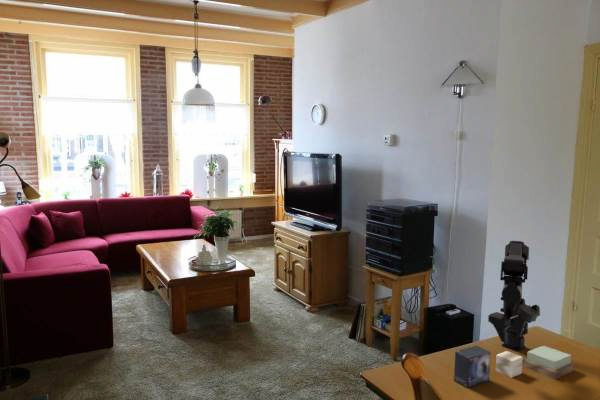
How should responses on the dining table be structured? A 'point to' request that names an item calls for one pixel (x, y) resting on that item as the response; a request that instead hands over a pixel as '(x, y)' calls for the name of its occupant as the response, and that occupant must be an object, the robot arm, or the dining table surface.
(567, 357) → the sage slab
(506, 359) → the cream cube
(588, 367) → the dining table surface
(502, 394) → the dining table surface
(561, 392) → the dining table surface
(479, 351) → the small box
